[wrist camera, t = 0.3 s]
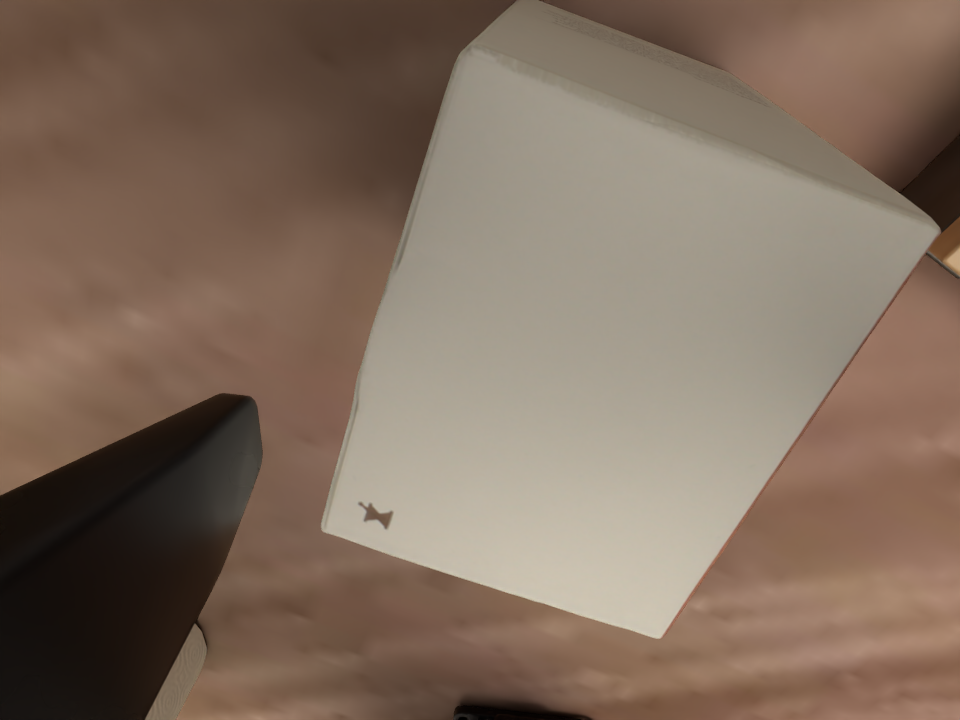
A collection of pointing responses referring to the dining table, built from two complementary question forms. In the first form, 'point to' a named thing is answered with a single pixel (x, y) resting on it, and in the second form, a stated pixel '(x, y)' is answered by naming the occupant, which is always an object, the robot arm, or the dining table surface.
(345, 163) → the dining table surface
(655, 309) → the small box
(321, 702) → the dining table surface
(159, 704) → the paper towel roll
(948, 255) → the rack
